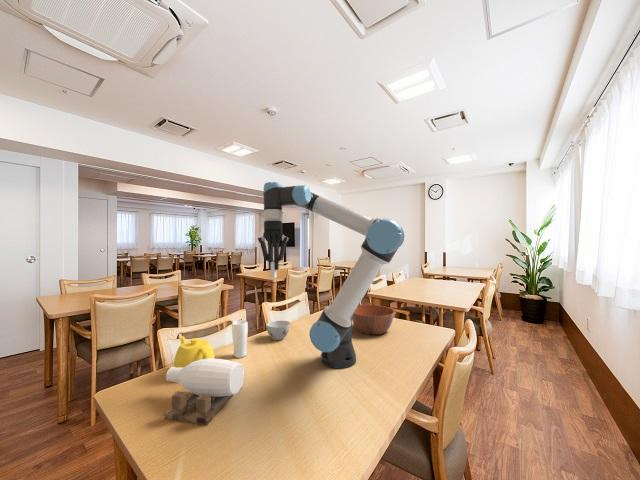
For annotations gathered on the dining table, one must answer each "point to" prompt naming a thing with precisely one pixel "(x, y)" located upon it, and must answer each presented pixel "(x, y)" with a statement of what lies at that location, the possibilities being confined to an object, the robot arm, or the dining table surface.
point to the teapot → (192, 351)
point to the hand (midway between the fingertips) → (273, 277)
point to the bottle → (209, 377)
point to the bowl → (372, 319)
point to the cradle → (201, 403)
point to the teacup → (278, 329)
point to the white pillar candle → (240, 338)
